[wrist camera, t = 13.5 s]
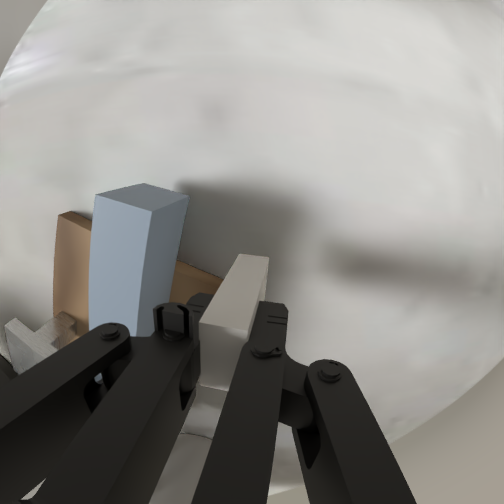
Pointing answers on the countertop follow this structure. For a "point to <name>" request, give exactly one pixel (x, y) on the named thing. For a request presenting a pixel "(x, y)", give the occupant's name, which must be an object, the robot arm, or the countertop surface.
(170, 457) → the mug
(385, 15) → the countertop surface
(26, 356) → the block
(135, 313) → the link
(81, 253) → the board
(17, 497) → the robot arm
